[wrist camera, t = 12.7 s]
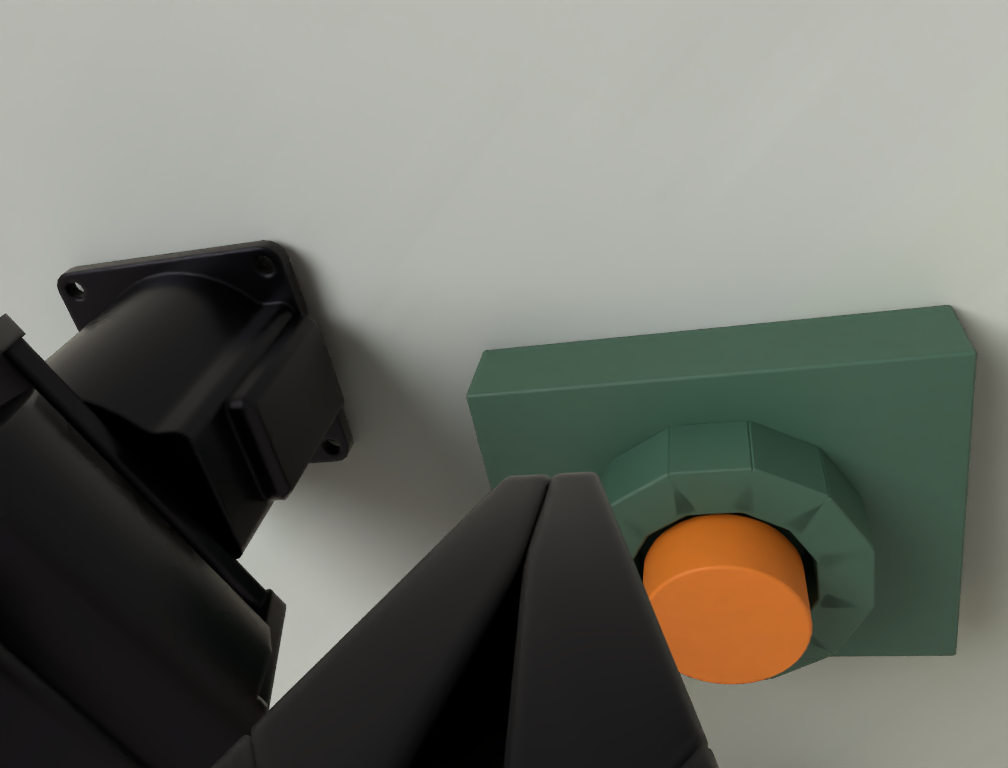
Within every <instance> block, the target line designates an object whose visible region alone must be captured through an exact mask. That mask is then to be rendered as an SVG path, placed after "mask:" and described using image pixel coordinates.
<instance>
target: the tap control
mask: <svg viewBox="0 0 1008 768" xmlns="http://www.w3.org/2000/svg"><path fill="white" fill-rule="evenodd" d="M976 360H977V353H976V351H975V349H974V347H973V345H972V343H971V341H970V340H969V338H968V336H967V334H966V332H965V330H964V328H963V327H962V325H961V323H960V321H959V319H958V317H957V316H956V314H955V312H954V310H953V308H952V306H950V305H944V306H933V307H923V308H913V309H903V310H893V311H883V312H872V313H862V314H852V315H842V316H832V317H822V318H811V319H801V320H791V321H781V322H771V323H761V324H750V325H740V326H730V327H720V328H710V329H699V330H689V331H679V332H669V333H659V334H649V335H638V336H628V337H618V338H608V339H598V340H588V341H577V342H567V343H557V344H547V345H537V346H527V347H516V348H506V349H496V350H486V351H484V352H483V354H482V356H481V359H480V362H479V364H478V367H477V369H476V372H475V375H474V377H473V380H472V383H471V385H470V388H469V391H468V393H467V401H468V405H469V408H470V412H471V416H472V420H473V423H474V427H475V431H476V434H477V438H478V442H479V446H480V449H481V453H482V457H483V460H484V464H485V468H486V472H487V475H488V479H489V483H490V487H491V490H493V489H494V488H495V487H496V486H497V485H498V484H499V483H500V482H501V481H502V480H504V479H505V478H507V477H509V476H515V475H535V474H546V475H548V476H549V477H550V478H551V479H552V478H553V476H555V475H556V474H559V473H575V472H594V473H596V474H597V475H598V476H599V478H600V480H601V482H602V485H603V487H604V490H605V492H606V494H607V497H608V499H609V502H610V504H611V507H612V509H613V512H614V514H615V516H616V519H617V521H618V524H619V526H620V529H621V531H622V534H623V536H624V538H625V541H626V543H627V546H628V548H629V551H630V553H631V556H632V558H633V561H634V563H635V565H636V568H637V570H638V573H639V575H640V578H641V580H642V583H643V572H644V562H645V558H646V555H647V553H648V551H649V549H650V547H651V546H652V544H653V543H654V541H655V540H656V539H657V538H658V537H659V536H660V535H661V534H662V533H663V532H665V531H666V530H667V529H668V528H670V527H672V526H673V525H675V524H677V523H679V522H681V521H684V520H686V519H690V518H693V517H696V516H701V515H708V514H734V515H741V516H746V517H750V518H753V519H756V520H759V521H761V522H763V523H766V524H768V525H770V526H771V527H773V528H775V529H776V530H778V531H779V532H780V533H782V534H783V535H784V536H785V537H786V538H787V539H788V540H789V541H790V542H791V543H792V544H793V545H794V547H795V548H796V549H797V551H798V553H799V555H800V557H801V560H802V563H803V567H804V573H805V579H806V586H807V592H808V599H809V605H810V612H811V618H812V635H811V639H810V642H809V644H808V646H807V649H806V650H805V652H804V653H803V655H802V656H801V657H800V658H799V659H798V661H797V662H796V663H794V664H793V665H792V666H791V667H789V668H788V669H786V670H785V671H783V672H781V673H779V674H777V675H775V676H773V677H770V679H773V678H776V677H778V676H781V675H783V674H786V673H788V672H791V671H793V670H796V669H799V668H801V667H804V666H806V665H809V664H811V663H814V662H817V661H819V660H822V659H824V658H827V657H829V656H953V655H955V654H956V648H957V634H958V619H959V605H960V591H961V576H962V562H963V547H964V533H965V519H966V504H967V490H968V475H969V461H970V446H971V432H972V418H973V403H974V389H975V374H976ZM679 673H680V672H679ZM681 674H682V673H681ZM767 679H769V678H767ZM767 679H764V680H767Z"/></svg>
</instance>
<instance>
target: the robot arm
mask: <svg viewBox="0 0 1008 768" xmlns="http://www.w3.org/2000/svg"><path fill="white" fill-rule="evenodd" d="M261 256H265V257H267V258H269V259H270V260H271V261H272V263H273V264H274V268H268V267H267V266H265V265H264V264H263V262H262V261H261ZM75 282H76V283H78V284H79V285H81V287H82V288H83V289H84V292H83V291H81V290H79V289H78V287H77V286H76V284H75ZM57 287H58V290H59V293H60V295H61V297H62V299H63V301H64V303H65V305H66V307H67V309H68V311H69V313H70V315H71V317H72V319H73V321H74V323H75V325H76V327H77V329H78V331H79V333H77V334H76V335H75V336H74V337H73V338H72V339H70V340H69V341H68V342H67V343H66V344H65V345H63V346H62V347H61V348H60V349H59V350H57V351H56V352H55V353H54V354H53V355H52V356H50V357H49V358H48V359H47V360H46V361H44V360H43V359H42V358H41V357H40V356H39V355H38V354H37V353H36V352H35V351H34V350H33V349H32V348H31V347H30V345H29V344H28V343H27V342H26V341H25V340H24V339H23V338H22V337H23V336H24V335H25V333H24V332H23V331H22V330H21V329H20V327H19V326H18V325H17V324H16V323H15V322H14V321H13V320H12V319H11V318H10V317H9V316H8V315H7V314H4V315H3V316H1V317H0V768H719V767H718V765H717V762H716V760H715V757H714V755H713V752H712V751H711V749H709V748H708V742H707V739H706V737H705V734H704V732H703V729H702V727H701V724H700V722H699V719H698V717H697V715H696V712H695V710H694V707H693V705H692V702H691V700H690V697H689V695H688V693H687V690H686V688H685V685H684V683H683V680H682V678H681V675H680V673H679V671H678V668H677V666H676V663H675V661H674V658H673V656H672V653H671V651H670V649H669V646H668V644H667V641H666V639H665V636H664V634H663V631H662V629H661V627H660V624H659V622H658V619H657V617H656V614H655V612H654V609H653V607H652V605H651V602H650V600H649V597H648V595H647V592H646V590H645V587H644V585H643V583H642V580H641V578H640V575H639V573H638V570H637V568H636V565H635V563H634V561H633V558H632V556H631V553H630V551H629V548H628V546H627V543H626V541H625V538H624V536H623V534H622V531H621V529H620V526H619V524H618V521H617V519H616V516H615V514H614V512H613V509H612V507H611V504H610V502H609V499H608V497H607V494H606V492H605V490H604V487H603V485H602V482H601V480H600V478H599V476H598V475H597V474H596V473H594V472H575V473H559V474H556V475H555V476H553V478H552V479H551V478H550V477H549V476H548V475H546V474H535V475H515V476H509V477H507V478H505V479H504V480H502V481H501V482H500V483H499V484H498V485H497V486H496V487H495V488H494V489H493V490H492V491H491V492H490V493H489V494H488V495H487V496H486V497H485V498H484V499H483V500H482V501H481V502H480V503H479V504H478V505H477V506H476V507H475V508H474V509H473V510H472V511H471V512H470V513H469V514H468V515H467V516H466V517H465V518H464V519H463V520H462V521H461V522H460V523H459V524H458V525H457V526H456V527H455V528H454V529H453V530H452V531H451V532H450V533H449V534H447V535H446V536H445V537H444V538H443V539H442V540H441V541H440V542H439V543H438V544H437V545H436V546H435V547H434V548H433V549H432V550H431V551H430V552H429V553H428V554H427V555H426V556H425V557H424V558H423V559H422V560H421V561H420V562H419V563H418V564H417V565H416V566H415V567H414V568H413V569H412V570H411V571H410V572H409V573H408V574H407V575H406V576H405V577H404V578H403V579H402V580H401V581H400V582H399V583H398V584H397V585H396V586H395V587H394V588H393V589H392V590H391V591H390V592H389V593H388V594H387V595H386V596H385V597H384V598H383V599H382V600H380V601H379V602H378V603H377V604H376V605H375V606H374V607H373V608H372V609H371V610H370V611H369V612H368V613H367V614H366V615H365V616H364V617H363V618H362V619H361V620H360V621H359V622H358V623H357V624H356V625H355V626H354V627H353V628H352V629H351V630H350V631H349V632H348V633H347V634H346V635H345V636H344V637H343V638H342V639H341V640H340V641H339V642H338V643H337V644H336V645H335V646H334V647H333V648H332V649H331V650H330V651H329V652H328V653H327V654H326V655H325V656H324V657H323V658H322V659H321V660H320V661H319V662H318V663H317V664H316V665H315V666H313V667H312V668H311V669H310V670H309V671H308V672H307V673H306V674H305V675H304V676H303V677H302V678H301V679H300V680H299V681H298V682H297V683H296V684H295V685H294V686H293V687H292V688H291V689H290V690H289V691H288V692H287V693H286V694H285V695H284V696H283V697H282V698H281V699H280V700H279V701H278V702H277V703H276V704H275V705H274V706H273V707H272V708H271V709H270V710H269V705H270V699H271V693H272V688H273V682H274V676H275V670H276V664H277V658H278V653H279V647H280V641H281V635H282V629H283V623H284V618H285V612H286V604H285V603H284V602H283V601H282V600H281V599H280V598H279V597H278V596H277V595H276V594H275V593H274V592H273V591H272V590H271V589H267V590H265V589H264V588H263V587H262V586H261V585H260V584H259V583H258V582H257V581H256V580H255V579H254V578H253V577H252V576H251V575H250V574H249V572H248V571H247V570H246V569H245V568H244V567H243V566H242V565H241V564H240V563H239V562H238V561H237V560H236V559H238V558H240V557H241V555H242V554H243V552H244V550H245V549H246V547H247V545H248V544H249V542H250V540H251V539H252V537H253V535H254V534H255V532H256V530H257V529H258V527H259V525H260V524H261V522H262V521H263V519H264V517H265V516H266V514H267V512H268V511H269V509H270V507H271V506H272V504H273V502H274V501H276V500H285V499H287V498H288V496H289V495H290V494H291V492H292V491H293V489H294V487H295V486H296V484H297V482H298V480H299V479H300V477H301V475H302V474H303V472H304V470H305V469H306V467H307V465H308V463H319V462H334V461H340V460H343V459H344V458H345V457H347V455H348V453H349V451H350V449H351V447H352V445H353V437H352V434H351V431H350V429H349V426H348V423H347V420H346V417H345V415H344V412H343V409H342V405H343V404H344V397H343V394H342V391H341V389H340V386H339V383H338V380H337V377H336V374H335V371H334V369H333V366H332V363H331V360H330V357H329V354H328V351H327V349H326V346H325V343H324V340H323V337H322V334H321V332H320V329H319V326H318V323H317V322H316V321H315V320H314V319H313V318H312V317H310V316H309V313H308V310H307V307H306V304H305V302H304V299H303V296H302V293H301V290H300V287H299V285H298V282H297V279H296V276H295V273H294V271H293V268H292V265H291V262H290V259H289V256H288V255H287V253H286V251H285V249H283V248H282V247H281V246H280V245H279V244H277V243H275V242H273V241H266V240H262V241H255V242H248V243H241V244H234V245H227V246H220V247H212V248H205V249H198V250H191V251H184V252H177V253H170V254H163V255H155V256H148V257H141V258H134V259H127V260H120V261H113V262H105V263H98V264H91V265H84V266H77V267H73V268H71V269H69V270H68V271H66V272H65V273H64V274H62V275H61V276H60V278H59V279H58V283H57ZM328 439H331V440H334V441H336V442H337V443H338V444H339V445H340V446H336V445H333V444H331V443H330V442H329V440H328Z"/></svg>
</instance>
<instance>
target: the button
mask: <svg viewBox="0 0 1008 768" xmlns="http://www.w3.org/2000/svg"><path fill="white" fill-rule="evenodd" d="M643 585H644V587H645V590H646V592H647V595H648V597H649V600H650V602H651V605H652V607H653V609H654V612H655V614H656V617H657V619H658V622H659V624H660V627H661V629H662V631H663V634H664V636H665V639H666V641H667V644H668V646H669V649H670V651H671V653H672V656H673V658H674V661H675V663H676V666H677V668H678V671H679V672H680V673H682V674H684V675H686V676H689V677H691V678H695V679H698V680H701V681H706V682H711V683H718V684H744V683H752V682H756V681H761V680H764V679H767V678H770V677H773V676H775V675H777V674H779V673H781V672H783V671H785V670H786V669H788V668H789V667H791V666H792V665H793V664H794V663H796V662H797V661H798V659H799V658H800V657H801V656H802V655H803V653H804V652H805V650H806V649H807V646H808V644H809V642H810V639H811V635H812V618H811V612H810V605H809V599H808V592H807V586H806V579H805V573H804V567H803V563H802V560H801V557H800V555H799V553H798V551H797V549H796V548H795V547H794V545H793V544H792V543H791V542H790V541H789V540H788V539H787V538H786V537H785V536H784V535H783V534H782V533H780V532H779V531H778V530H776V529H775V528H773V527H771V526H770V525H768V524H766V523H763V522H761V521H759V520H756V519H753V518H750V517H746V516H741V515H734V514H708V515H701V516H696V517H693V518H690V519H686V520H684V521H681V522H679V523H677V524H675V525H673V526H672V527H670V528H668V529H667V530H666V531H665V532H663V533H662V534H661V535H660V536H659V537H658V538H657V539H656V540H655V541H654V543H653V544H652V546H651V547H650V549H649V551H648V553H647V555H646V558H645V562H644V572H643Z"/></svg>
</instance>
